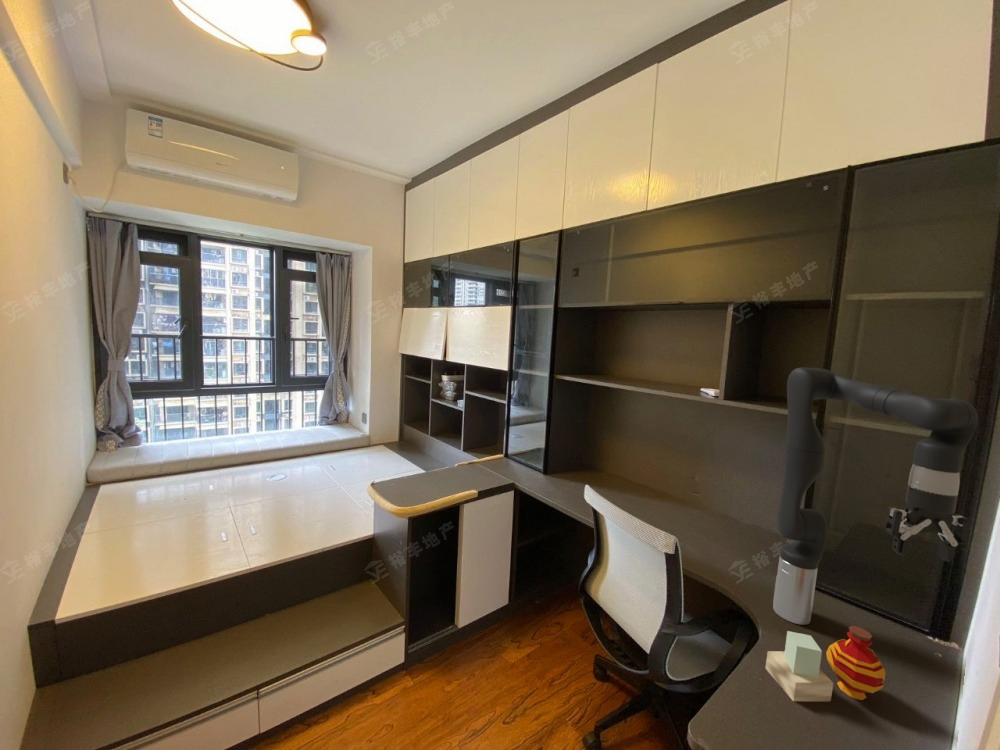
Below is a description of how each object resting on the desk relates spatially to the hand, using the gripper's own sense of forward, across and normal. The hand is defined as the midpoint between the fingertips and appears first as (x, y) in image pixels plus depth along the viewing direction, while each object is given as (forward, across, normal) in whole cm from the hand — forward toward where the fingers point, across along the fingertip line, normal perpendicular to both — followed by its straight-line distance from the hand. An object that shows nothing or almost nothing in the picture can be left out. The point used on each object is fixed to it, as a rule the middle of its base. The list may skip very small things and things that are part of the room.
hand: (921, 556), depth 90 cm
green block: (+30, +22, +2) cm, 38 cm away
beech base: (+36, +22, +2) cm, 42 cm away
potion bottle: (+35, +10, 0) cm, 37 cm away
